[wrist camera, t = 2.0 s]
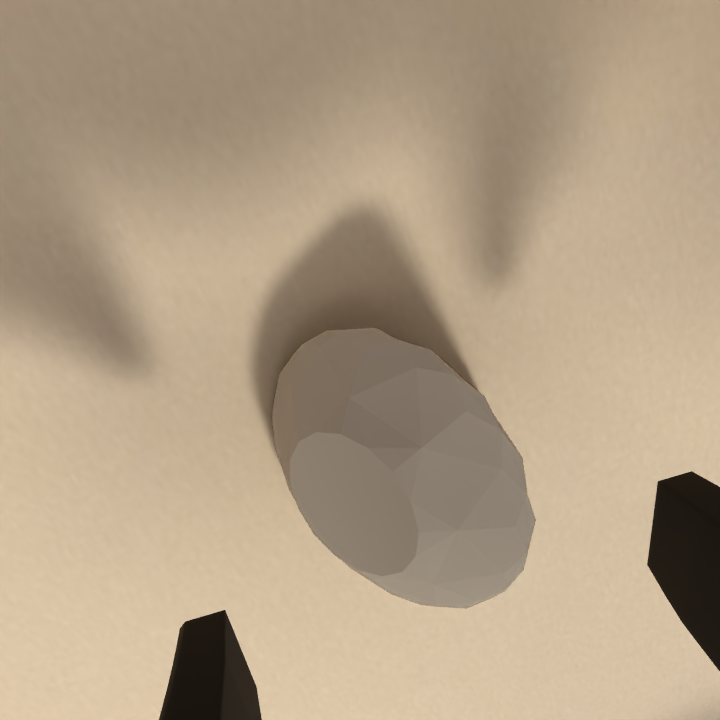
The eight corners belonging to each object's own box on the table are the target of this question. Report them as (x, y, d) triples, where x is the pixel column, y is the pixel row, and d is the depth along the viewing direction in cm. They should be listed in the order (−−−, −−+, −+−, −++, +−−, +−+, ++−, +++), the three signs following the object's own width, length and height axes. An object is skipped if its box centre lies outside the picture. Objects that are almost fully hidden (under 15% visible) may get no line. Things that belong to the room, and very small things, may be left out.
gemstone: (605, 541, 15) (505, 701, 12) (386, 470, 19) (260, 575, 16) (618, 283, 13) (496, 389, 9) (364, 258, 17) (209, 327, 13)
